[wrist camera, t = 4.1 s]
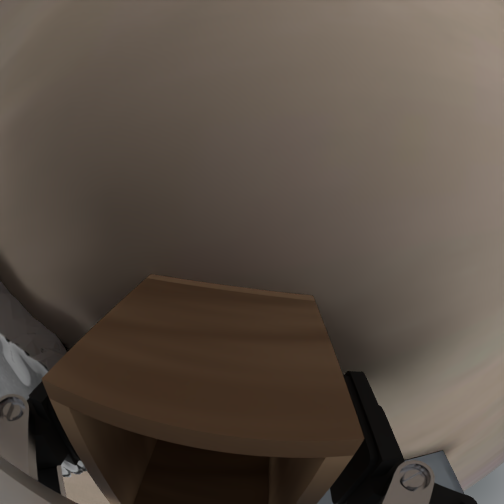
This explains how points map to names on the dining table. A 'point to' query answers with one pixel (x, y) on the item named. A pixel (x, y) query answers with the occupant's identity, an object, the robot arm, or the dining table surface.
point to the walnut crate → (207, 397)
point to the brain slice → (26, 355)
